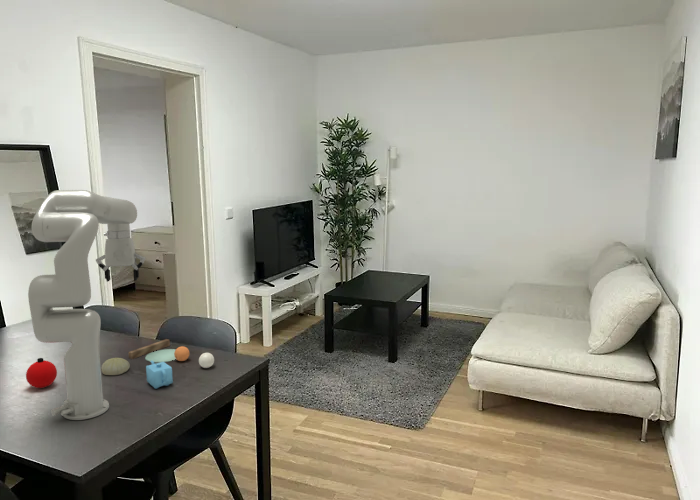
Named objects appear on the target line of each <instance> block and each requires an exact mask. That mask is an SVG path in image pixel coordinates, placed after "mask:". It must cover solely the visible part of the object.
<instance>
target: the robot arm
mask: <svg viewBox="0 0 700 500" xmlns="http://www.w3.org/2000/svg"><path fill="white" fill-rule="evenodd" d="M32 218H33V219H32V222H31V233H32V236H34V239H36V240H37V241H39V242H43V243H58V242H59V243H64V242H65V243H64V244H63V245H62V246H60V248H59V249H58V251H57V252H56V254H55V256H54V258H53V265H54V274H42V275H37V276H35V277H34V278H33V279H32V280H31V281H30V283H29V286H28V290H27V291H28V293H27V296H28V305H29V310H30V317H31V323H32V329H33V333H34V336H35V338H36V340H37V341H38V342H41V343H46V344H47V343H48V344H49V343H71V345H70V347H69V348H68V349H67V351H65V354H64V357H63V364H64V374H65V375H64V376H65V388H66V398H67V399H65V400H63V404H61V405H60V406H59V407H55V408H53V409H51V410H50V413H51V415H52V417H56V416H58V415H60V414H61V416H63V418H64V419H67V420H69V421H70V420H71V421H82V420H83V421H84V420H89V419H92V418H96V417H98V416H101V415H103V414H104V413H106V412H107V411H108V409H109V408H110V402H109V400H106V399H104V396H103V395H104V394H103V382H102V370H101V369H102V368H101V367H102V366H101V356H100V334H101V321H102V320H101V316H100V314H99V312H97V311H95V310H92V309H89V308H76V307H84V306H85V305H87V304H89V302H91V301H90V300H91V298H92V289H91V288H92V287H91V286H92V285H91V277H90V271H89V269H90V268H89V263H88V261H89V253H90V250H91V248H92V247H93V246H92V245H93V243H94V241H95V239H96V237H97V233H98V231H99V224H101V225H107V231H105V232H103V236H104V237H107V239H105V244H104V254H103V255H101V256H99V257H97V258H95V262H96V264H97V265H98V267H99V268H100V269H102V271H103V272H104V279H105V280H106V282H110V281H111V279H112V277H111V269H110V267H127V266H128V267H129V266H131V267H132V268H133V271H132V272H133V280H134V281H137V280H139V278H140V271H139V270H140V268H141V267H142V266H143V265H144V263H145V262H146V259H147V258H146V257H145V256H143V255H140V253H139V254H138V253H136V249H135V245H134V244H135V243H134V240H133V238H132V237H131V229H130V228H131V227H130V224H133V223H135V222H136V220H137V218H138V210H137V207H136V204H134V203H133V202H131V200H127V199H122V198H121V199H120V198H115V197H111V196H104V195H101V194H97V193H96V192H93V191H89V190H84V189H60V190H59V189H58V190H53V191H51V192H49V194H48V195H47V196H46V197H45V199H44V200H43V201H42V202H41V205H40V206H39V208H38V209H37V211H36V213H35V214H34V216H33V217H32ZM137 259H138V260H140V261H139V263H138V264H137ZM103 260H104V263H105V264H104V263H103V262H102V261H103ZM74 307H75V308H74ZM54 308H66V309H54ZM67 308H68V309H67Z"/></svg>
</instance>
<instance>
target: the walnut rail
mask: <svg viewBox="0 0 700 500" xmlns="http://www.w3.org/2000/svg"><path fill="white" fill-rule="evenodd" d="M170 342H171V340H170V339H167V338H165V339H163V340H160V341H157V342H154V343H151V344H148V345H145V346H141V347H139V348H136V349H133V350H130V351H128V352H127V353H128V359H130V360H134V359H137V358H140V357H142V355H143V356H146V355H148V354H149V353H151V352H153V351H156V350H157V351H158V350H163V349H166V348H167V347H170V346H171V343H170Z"/></svg>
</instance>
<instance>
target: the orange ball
mask: <svg viewBox="0 0 700 500" xmlns="http://www.w3.org/2000/svg"><path fill="white" fill-rule="evenodd" d="M174 356H175V358H176V360H177V361H179V362H184V361H187V359H189V357H190V350H189V348H188V347H186V346H183V345H182V346H178V347H177V348H176V350H175V353H174Z"/></svg>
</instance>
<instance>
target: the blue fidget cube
mask: <svg viewBox="0 0 700 500" xmlns="http://www.w3.org/2000/svg"><path fill="white" fill-rule="evenodd" d="M150 363H151V364H149V365H146V366H145V371H146V372H145V373H146V382H147V383H148V384H149V385H150V386H152V387H153V388H154V389H155V390H156V389H159V388H160V387H164V386H165V387H166V386H170V385H172V384H173V383H174V381H173V368H172V366H171V365H169V364H167V362H154V361H151V362H150Z"/></svg>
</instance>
